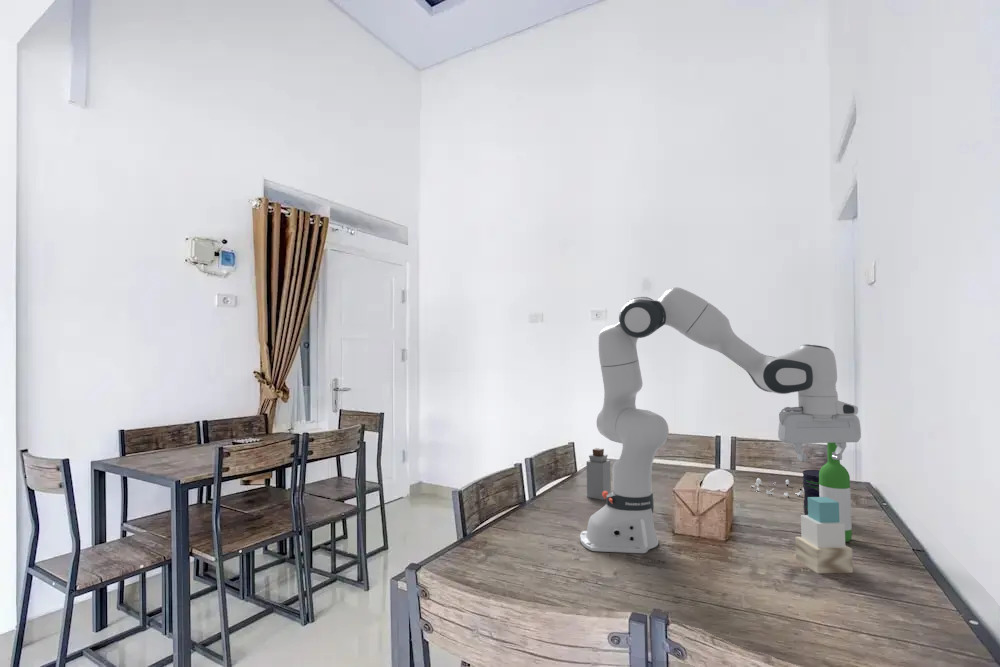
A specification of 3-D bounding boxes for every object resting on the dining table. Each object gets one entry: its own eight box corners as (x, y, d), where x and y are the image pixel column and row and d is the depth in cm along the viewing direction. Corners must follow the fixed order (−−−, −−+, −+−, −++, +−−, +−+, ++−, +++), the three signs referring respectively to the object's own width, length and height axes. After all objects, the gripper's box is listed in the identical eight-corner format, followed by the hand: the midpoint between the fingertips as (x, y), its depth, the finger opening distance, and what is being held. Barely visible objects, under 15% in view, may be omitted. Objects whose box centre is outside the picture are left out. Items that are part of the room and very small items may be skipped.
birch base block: (817, 573, 130) (816, 549, 130) (795, 559, 139) (795, 536, 139) (852, 573, 130) (852, 548, 130) (828, 558, 139) (828, 535, 139)
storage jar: (833, 526, 163) (831, 478, 164) (799, 518, 171) (797, 473, 171) (843, 519, 170) (841, 473, 170) (810, 512, 177) (808, 468, 178)
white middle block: (817, 548, 131) (816, 523, 131) (801, 537, 138) (800, 515, 138) (845, 547, 131) (844, 523, 131) (827, 537, 138) (827, 514, 138)
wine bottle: (824, 541, 151) (820, 437, 152) (817, 532, 158) (814, 433, 159) (855, 544, 148) (852, 438, 149) (847, 535, 155) (844, 434, 156)
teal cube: (819, 522, 132) (819, 502, 132) (808, 516, 137) (807, 497, 137) (839, 522, 132) (838, 502, 132) (827, 516, 137) (826, 496, 137)
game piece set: (741, 486, 213) (740, 476, 213) (786, 484, 215) (786, 475, 215) (770, 499, 194) (770, 489, 194) (820, 497, 196) (820, 487, 196)
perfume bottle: (594, 493, 204) (594, 447, 205) (610, 495, 200) (610, 448, 201) (587, 497, 199) (586, 449, 199) (603, 499, 195) (602, 451, 195)
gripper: (786, 408, 132) (787, 463, 132) (864, 407, 133) (866, 461, 133) (772, 405, 139) (773, 458, 138) (846, 404, 139) (848, 456, 139)
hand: (819, 459), depth 135 cm, fingers open, 8 cm apart
